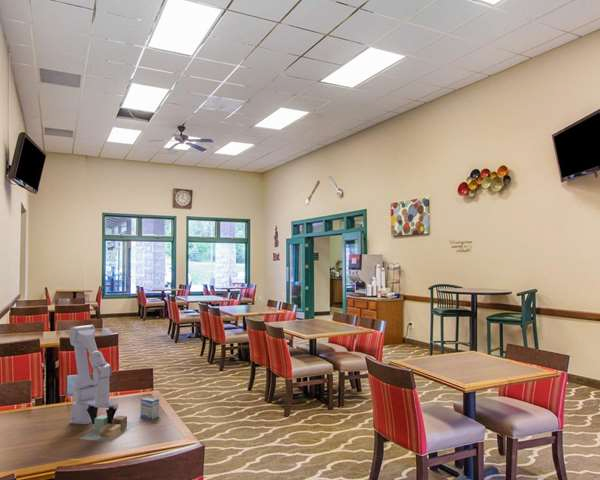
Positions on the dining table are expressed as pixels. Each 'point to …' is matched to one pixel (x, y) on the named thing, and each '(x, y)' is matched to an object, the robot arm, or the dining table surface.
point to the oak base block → (110, 430)
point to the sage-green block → (100, 422)
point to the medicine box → (149, 408)
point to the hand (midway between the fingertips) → (102, 423)
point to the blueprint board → (96, 436)
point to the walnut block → (120, 421)
